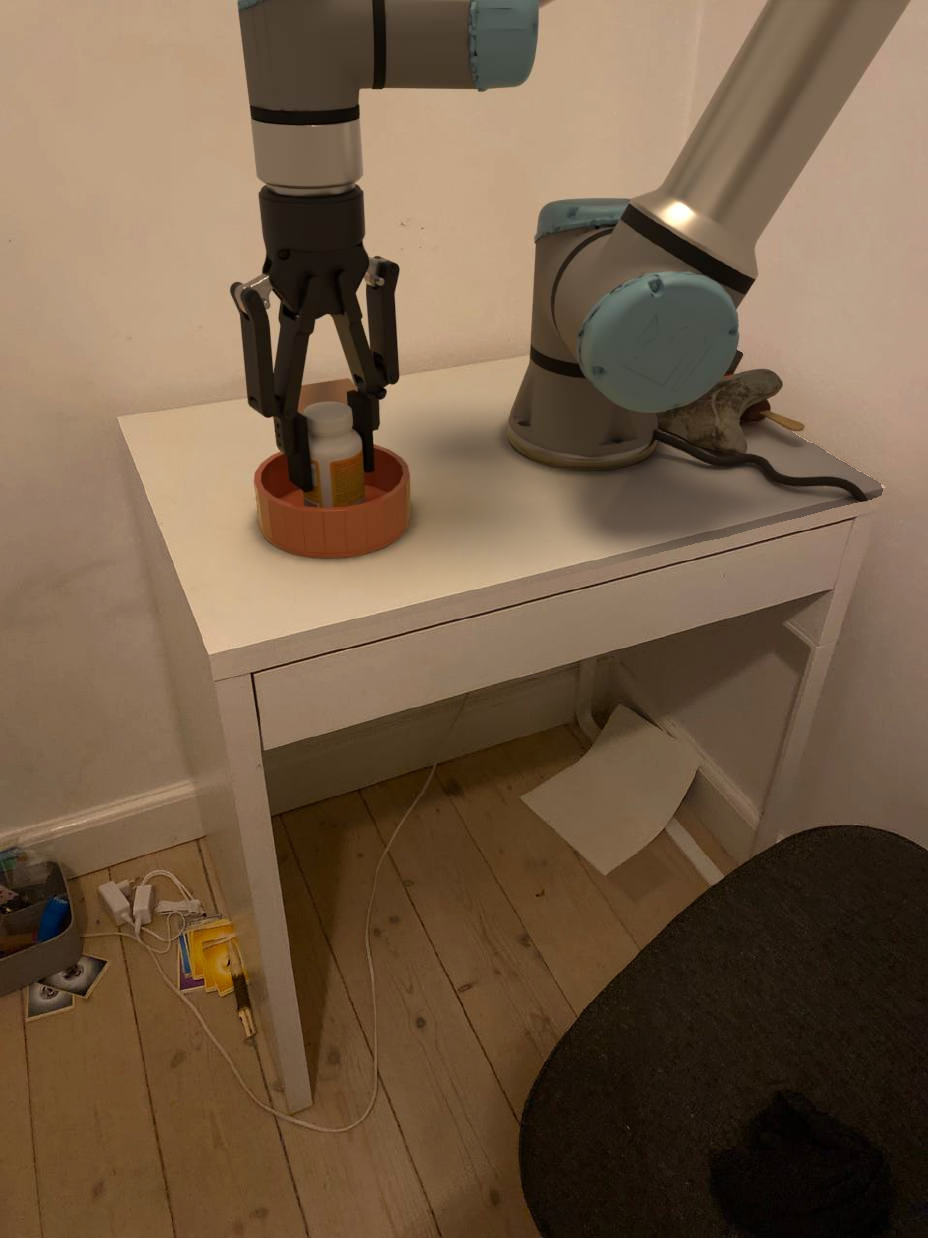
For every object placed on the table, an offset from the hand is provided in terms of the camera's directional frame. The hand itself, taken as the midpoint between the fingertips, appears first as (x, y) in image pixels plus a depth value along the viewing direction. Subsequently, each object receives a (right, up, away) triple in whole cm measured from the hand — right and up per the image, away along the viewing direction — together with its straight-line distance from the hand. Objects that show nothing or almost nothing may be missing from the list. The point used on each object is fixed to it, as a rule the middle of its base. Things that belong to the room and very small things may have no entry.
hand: (332, 475), depth 82 cm
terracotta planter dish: (0, -3, +2) cm, 4 cm away
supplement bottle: (0, -3, +2) cm, 4 cm away
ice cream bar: (+45, +6, +14) cm, 48 cm away
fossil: (+30, +12, +23) cm, 39 cm away
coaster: (-4, +12, +24) cm, 27 cm away
